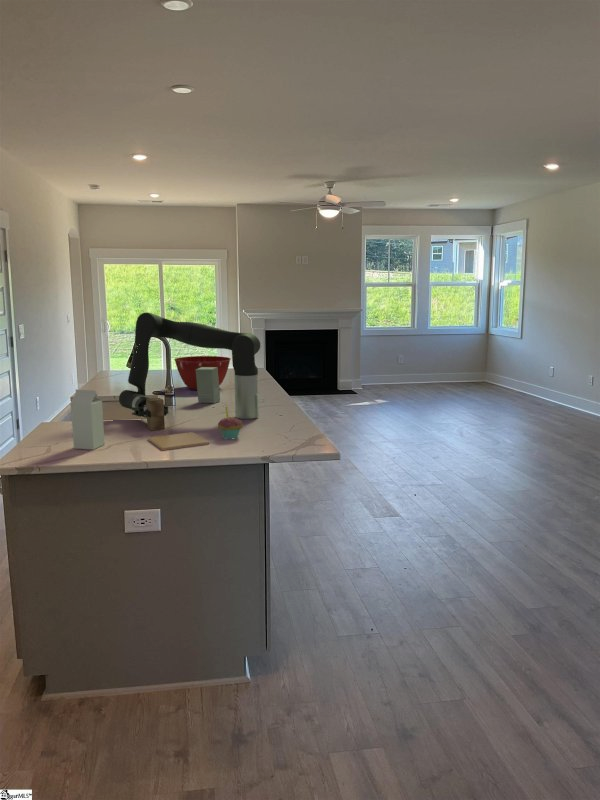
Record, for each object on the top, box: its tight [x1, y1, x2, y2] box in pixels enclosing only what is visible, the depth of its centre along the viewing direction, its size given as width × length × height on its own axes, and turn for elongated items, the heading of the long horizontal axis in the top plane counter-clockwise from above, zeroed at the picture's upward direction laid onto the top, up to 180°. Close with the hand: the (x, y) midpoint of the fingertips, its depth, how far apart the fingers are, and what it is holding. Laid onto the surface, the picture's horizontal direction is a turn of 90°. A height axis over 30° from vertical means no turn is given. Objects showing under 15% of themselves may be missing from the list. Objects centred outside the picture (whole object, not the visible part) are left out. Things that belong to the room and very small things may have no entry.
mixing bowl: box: [173, 355, 232, 391], centre depth 317 cm, size 28×28×15 cm
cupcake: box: [217, 405, 243, 440], centre depth 214 cm, size 9×8×12 cm
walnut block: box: [146, 397, 166, 431], centre depth 228 cm, size 5×5×11 cm
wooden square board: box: [147, 431, 210, 451], centre depth 209 cm, size 16×16×1 cm
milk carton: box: [70, 389, 105, 450], centre depth 201 cm, size 7×7×19 cm
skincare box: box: [196, 367, 221, 404], centre depth 278 cm, size 8×7×16 cm
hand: (157, 413), depth 225 cm, fingers closed on walnut block, 5 cm apart
